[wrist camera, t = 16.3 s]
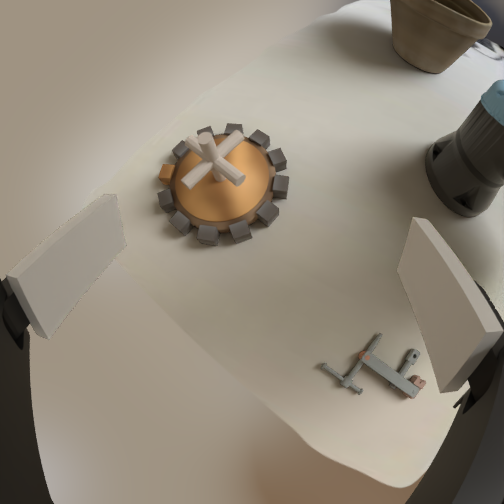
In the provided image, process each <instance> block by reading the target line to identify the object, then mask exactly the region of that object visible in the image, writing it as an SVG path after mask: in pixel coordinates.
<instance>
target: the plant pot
mask: <svg viewBox="0 0 504 504" xmlns="http://www.w3.org/2000/svg"><path fill="white" fill-rule="evenodd" d="M390 3H391V18H392V40H393V47H394V49H395V51H396V52H397V53H398V54H399V55H400V56H401V57H402V58H403V59H404V60H406V61H407V62H408V63H410V64H411V65H413V66H415V67H417V68H419V69H421V70H424V71H427V72H430V73H441V72H443V71H445V70H446V69H447V68H448V67H449V66H450V65H452V64H453V63H454V62H455V61H456V60H457V59H458V58H459V57H460V56H461V55H462V54H463V53H465V52H466V51H467V50H468V49H469V48H470V47H471V46H472V45H473V44H474V43H475V42H476V41H477V40H478V39H483V38H485V36H486V35H487V33H488V31H489V30H490V28H491V26H492V21H491V20H490V18H489V17H488V15H486V13H485V12H484V11H483V10H482V9H481V8H480V7H478V6H477V5H476V4H474V3H473V2H472V1H471V0H390Z"/></svg>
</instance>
